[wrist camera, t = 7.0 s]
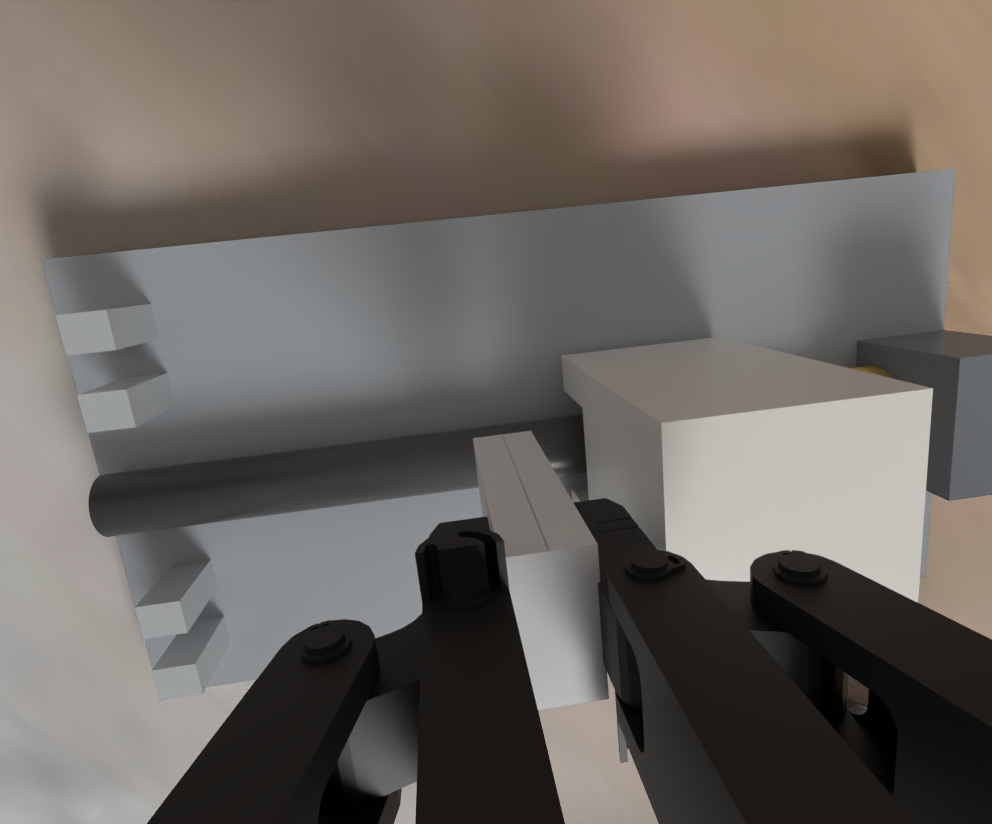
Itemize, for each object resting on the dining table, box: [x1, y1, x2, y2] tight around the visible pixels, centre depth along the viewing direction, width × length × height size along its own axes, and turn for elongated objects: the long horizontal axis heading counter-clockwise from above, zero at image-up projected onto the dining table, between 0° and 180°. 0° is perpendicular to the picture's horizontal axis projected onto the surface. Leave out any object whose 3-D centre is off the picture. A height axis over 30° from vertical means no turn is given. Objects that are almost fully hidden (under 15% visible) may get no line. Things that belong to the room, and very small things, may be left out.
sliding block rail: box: [41, 169, 992, 701], centre depth 18 cm, size 27×14×6 cm, turn 96°
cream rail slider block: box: [561, 337, 933, 603], centre depth 15 cm, size 5×5×8 cm
